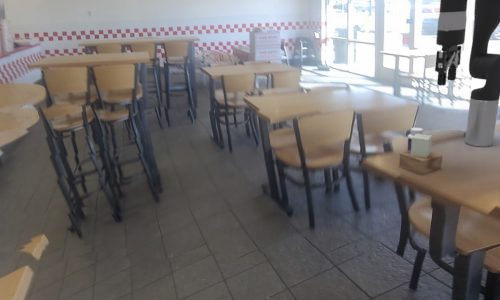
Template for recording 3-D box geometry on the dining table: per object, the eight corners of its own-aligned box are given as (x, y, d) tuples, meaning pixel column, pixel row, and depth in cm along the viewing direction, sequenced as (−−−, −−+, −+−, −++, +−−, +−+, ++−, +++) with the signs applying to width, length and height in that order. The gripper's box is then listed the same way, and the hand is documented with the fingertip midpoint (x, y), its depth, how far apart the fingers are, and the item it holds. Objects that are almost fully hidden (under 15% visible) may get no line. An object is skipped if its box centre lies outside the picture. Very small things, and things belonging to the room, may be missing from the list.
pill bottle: (424, 157, 143) (426, 131, 139) (407, 157, 144) (410, 131, 141) (421, 152, 148) (423, 126, 144) (405, 152, 149) (407, 126, 146)
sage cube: (414, 150, 136) (415, 133, 134) (430, 152, 133) (432, 135, 131) (410, 155, 132) (411, 137, 130) (426, 157, 129) (428, 139, 128)
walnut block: (418, 161, 140) (419, 148, 138) (440, 170, 132) (442, 155, 131) (399, 167, 136) (400, 153, 134) (421, 176, 128) (422, 161, 127)
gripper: (446, 26, 127) (442, 78, 132) (429, 30, 117) (425, 86, 123) (472, 25, 122) (467, 79, 127) (456, 29, 112) (451, 88, 118)
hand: (446, 82), depth 125 cm, fingers open, 8 cm apart
